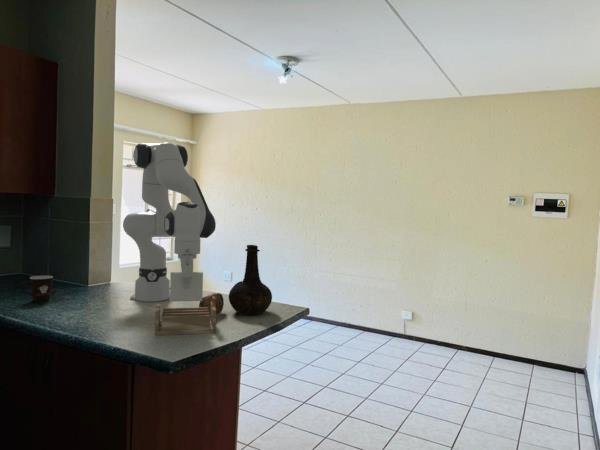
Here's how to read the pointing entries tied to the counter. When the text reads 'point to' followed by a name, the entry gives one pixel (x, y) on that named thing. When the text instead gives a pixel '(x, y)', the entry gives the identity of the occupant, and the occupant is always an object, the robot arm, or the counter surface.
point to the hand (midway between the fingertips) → (186, 287)
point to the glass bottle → (250, 288)
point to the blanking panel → (186, 294)
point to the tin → (208, 299)
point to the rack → (185, 320)
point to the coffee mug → (40, 287)
